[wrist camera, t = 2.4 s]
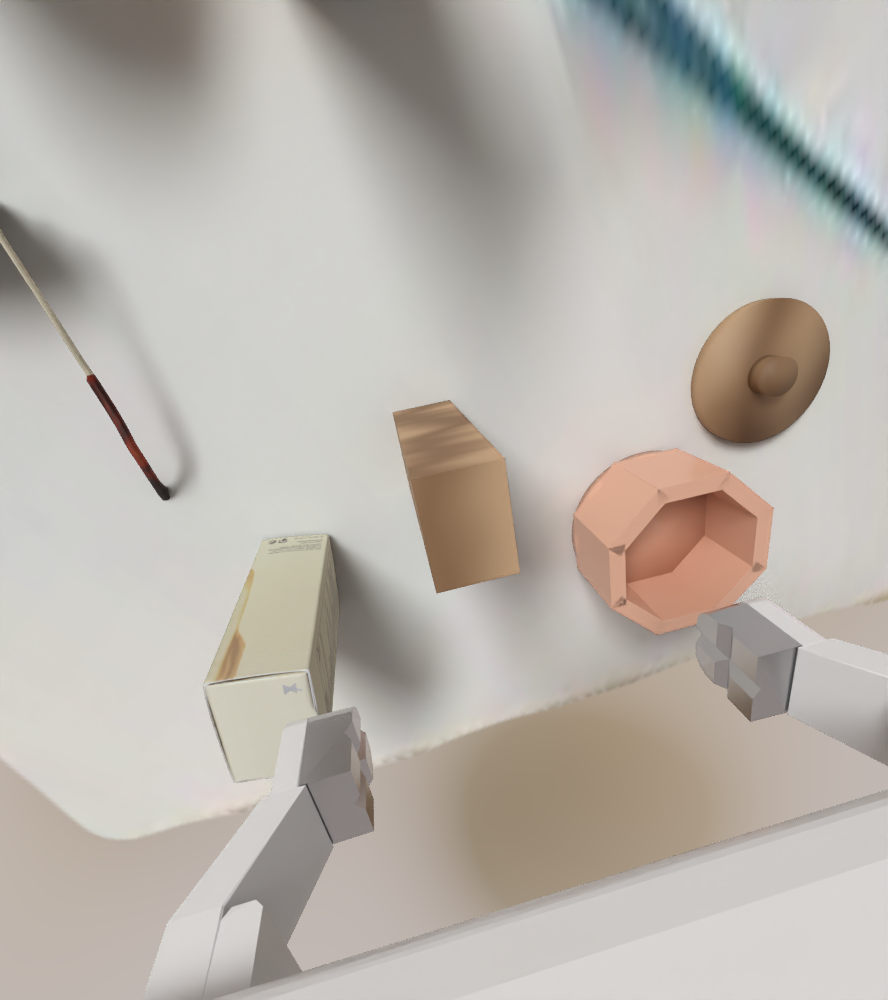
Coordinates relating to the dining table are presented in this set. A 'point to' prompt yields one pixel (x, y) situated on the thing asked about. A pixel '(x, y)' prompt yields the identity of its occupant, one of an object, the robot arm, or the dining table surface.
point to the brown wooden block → (457, 496)
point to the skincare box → (275, 653)
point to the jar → (670, 538)
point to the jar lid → (760, 369)
